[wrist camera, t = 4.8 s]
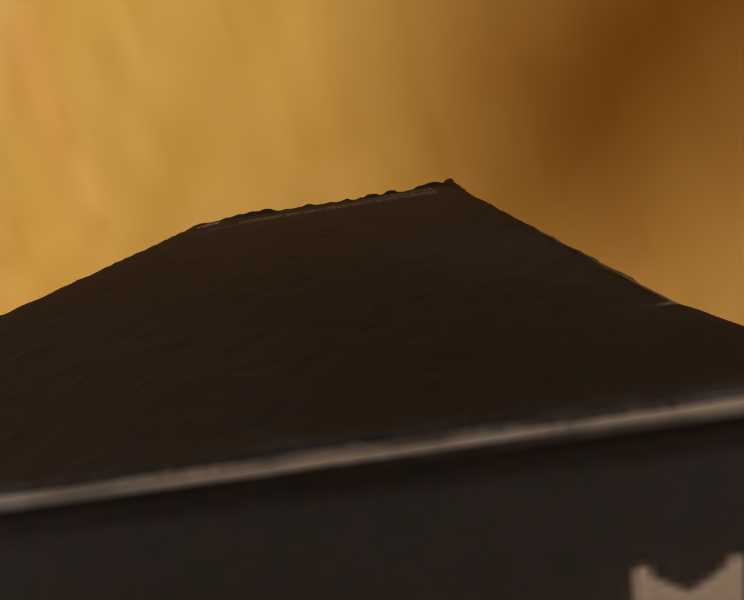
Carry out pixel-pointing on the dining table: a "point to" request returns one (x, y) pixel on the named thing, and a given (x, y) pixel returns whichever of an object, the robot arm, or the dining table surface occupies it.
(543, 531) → the small box
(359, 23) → the dining table surface
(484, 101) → the dining table surface
